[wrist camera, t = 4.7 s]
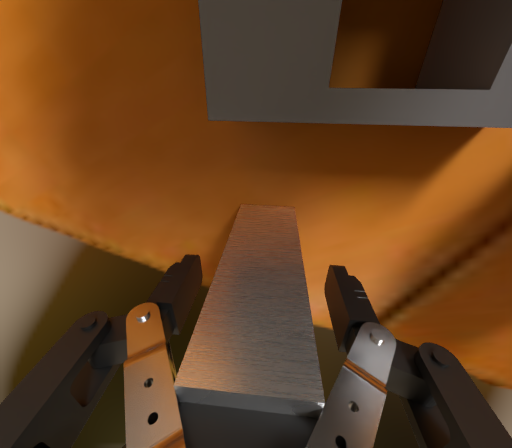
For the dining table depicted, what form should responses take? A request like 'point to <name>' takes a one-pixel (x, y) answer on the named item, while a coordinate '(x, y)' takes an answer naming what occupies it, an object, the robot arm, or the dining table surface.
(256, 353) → the peg
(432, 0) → the dining table surface
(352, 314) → the robot arm
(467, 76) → the socket
